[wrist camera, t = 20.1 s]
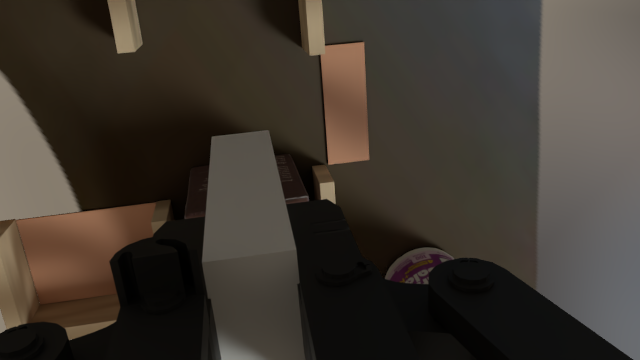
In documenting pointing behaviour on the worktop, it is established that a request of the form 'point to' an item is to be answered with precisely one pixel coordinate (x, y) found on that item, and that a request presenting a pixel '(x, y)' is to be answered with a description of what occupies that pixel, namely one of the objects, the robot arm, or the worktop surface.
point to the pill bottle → (416, 265)
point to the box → (199, 186)
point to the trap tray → (145, 219)
